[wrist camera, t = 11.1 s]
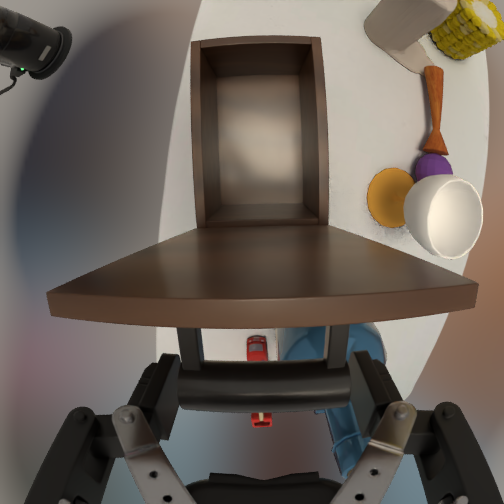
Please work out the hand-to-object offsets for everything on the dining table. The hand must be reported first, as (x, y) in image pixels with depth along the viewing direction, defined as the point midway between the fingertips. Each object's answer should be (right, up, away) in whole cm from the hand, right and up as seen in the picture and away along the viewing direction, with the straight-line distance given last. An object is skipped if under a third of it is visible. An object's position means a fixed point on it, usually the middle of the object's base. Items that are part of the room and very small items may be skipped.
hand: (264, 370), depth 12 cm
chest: (+1, +21, +24) cm, 32 cm away
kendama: (+26, +24, +22) cm, 42 cm away
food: (+33, +43, +16) cm, 56 cm away
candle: (+23, +38, +18) cm, 48 cm away
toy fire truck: (+1, -14, +35) cm, 38 cm away
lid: (0, +6, +5) cm, 8 cm away
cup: (+20, +14, +26) cm, 35 cm away
